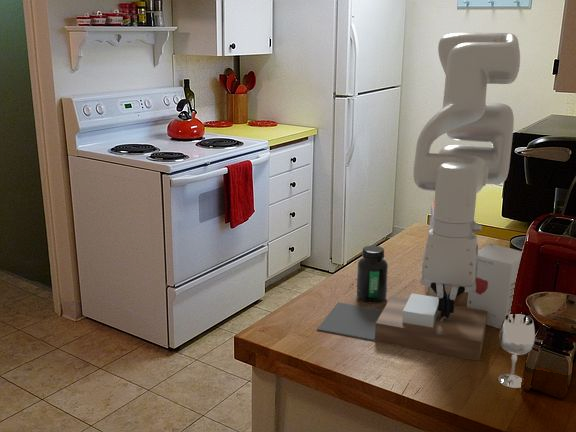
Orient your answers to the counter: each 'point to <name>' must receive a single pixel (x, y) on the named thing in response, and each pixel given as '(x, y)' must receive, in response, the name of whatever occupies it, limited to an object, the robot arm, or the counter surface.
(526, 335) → the wineglass
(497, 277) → the supplement box
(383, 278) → the supplement bottle
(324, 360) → the counter surface
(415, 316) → the tile
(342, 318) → the mat
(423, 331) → the brown wooden block
